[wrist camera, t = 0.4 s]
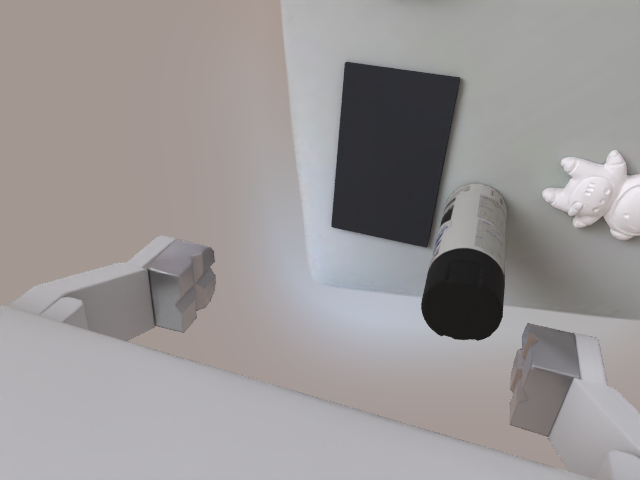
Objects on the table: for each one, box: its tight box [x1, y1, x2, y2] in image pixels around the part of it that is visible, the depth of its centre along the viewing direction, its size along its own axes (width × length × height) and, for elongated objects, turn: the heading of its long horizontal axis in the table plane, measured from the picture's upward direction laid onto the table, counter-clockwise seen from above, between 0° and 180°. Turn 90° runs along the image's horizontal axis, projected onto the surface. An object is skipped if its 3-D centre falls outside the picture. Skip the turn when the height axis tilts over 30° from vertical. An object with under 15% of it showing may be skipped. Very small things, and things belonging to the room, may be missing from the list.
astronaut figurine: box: [542, 150, 640, 240], centre depth 54 cm, size 9×12×3 cm
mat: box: [331, 62, 460, 247], centre depth 60 cm, size 20×12×1 cm, turn 177°
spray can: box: [421, 183, 506, 340], centre depth 52 cm, size 7×7×20 cm
